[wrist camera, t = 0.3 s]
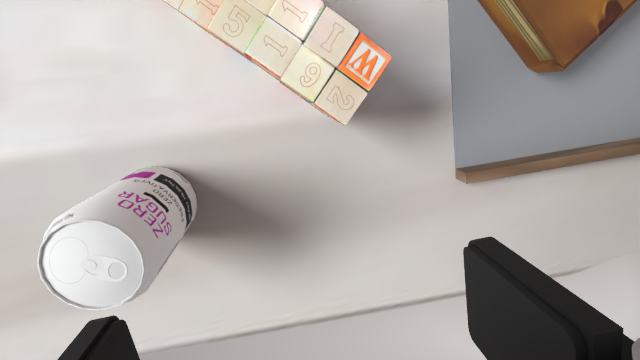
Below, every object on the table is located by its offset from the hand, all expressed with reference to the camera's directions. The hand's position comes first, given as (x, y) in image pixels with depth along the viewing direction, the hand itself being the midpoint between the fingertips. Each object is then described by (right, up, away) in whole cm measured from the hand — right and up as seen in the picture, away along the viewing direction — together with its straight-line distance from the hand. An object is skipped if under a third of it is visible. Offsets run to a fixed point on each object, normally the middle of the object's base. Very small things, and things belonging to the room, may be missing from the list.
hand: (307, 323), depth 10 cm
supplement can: (-17, +2, +30) cm, 35 cm away
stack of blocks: (-6, +19, +27) cm, 33 cm away
